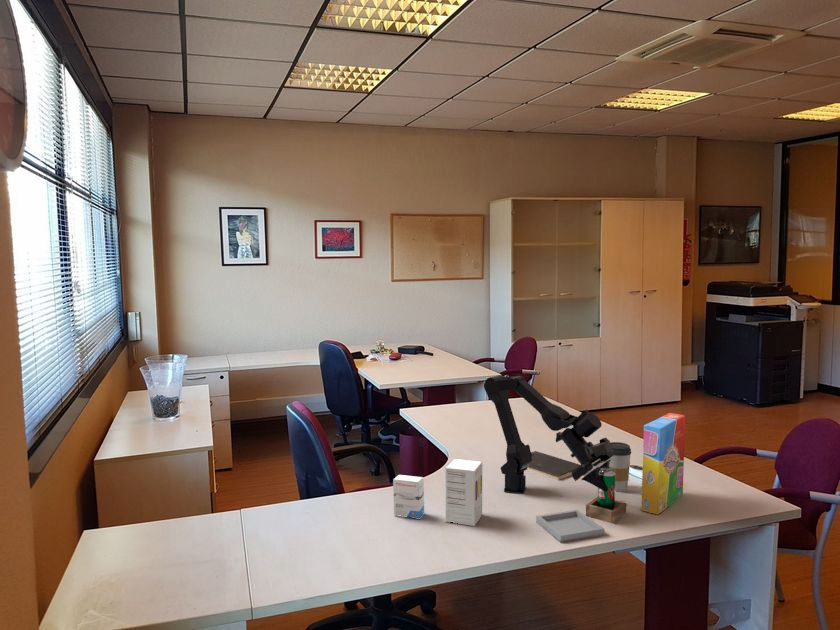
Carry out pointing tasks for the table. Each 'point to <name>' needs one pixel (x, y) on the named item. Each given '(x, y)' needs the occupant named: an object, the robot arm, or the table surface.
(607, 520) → the walnut cup-holder
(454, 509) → the supplement box
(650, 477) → the game box
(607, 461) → the robot arm
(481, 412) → the table surface
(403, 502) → the ink box
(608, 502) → the soda can
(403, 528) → the table surface
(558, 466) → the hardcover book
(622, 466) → the coffee cup
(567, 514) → the grey tray
